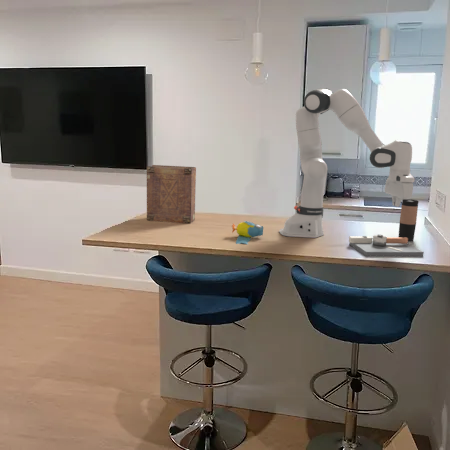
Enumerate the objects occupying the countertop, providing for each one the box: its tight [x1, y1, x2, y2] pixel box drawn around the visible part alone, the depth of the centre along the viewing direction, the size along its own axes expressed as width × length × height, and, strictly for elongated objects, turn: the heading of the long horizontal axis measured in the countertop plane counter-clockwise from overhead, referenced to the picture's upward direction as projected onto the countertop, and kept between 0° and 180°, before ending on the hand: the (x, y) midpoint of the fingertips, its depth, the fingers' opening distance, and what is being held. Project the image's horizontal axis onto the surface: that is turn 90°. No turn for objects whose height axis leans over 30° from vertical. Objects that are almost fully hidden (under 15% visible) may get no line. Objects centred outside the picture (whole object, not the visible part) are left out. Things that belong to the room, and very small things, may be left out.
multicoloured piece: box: [372, 234, 409, 246], centre depth 218 cm, size 16×6×4 cm, turn 96°
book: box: [146, 164, 197, 224], centre depth 263 cm, size 25×9×30 cm, turn 79°
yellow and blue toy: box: [231, 220, 264, 245], centre depth 232 cm, size 28×9×15 cm
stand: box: [348, 235, 424, 258], centre depth 216 cm, size 27×20×5 cm
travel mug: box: [398, 199, 419, 243], centre depth 236 cm, size 8×8×20 cm
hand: (395, 206), depth 221 cm, fingers closed
